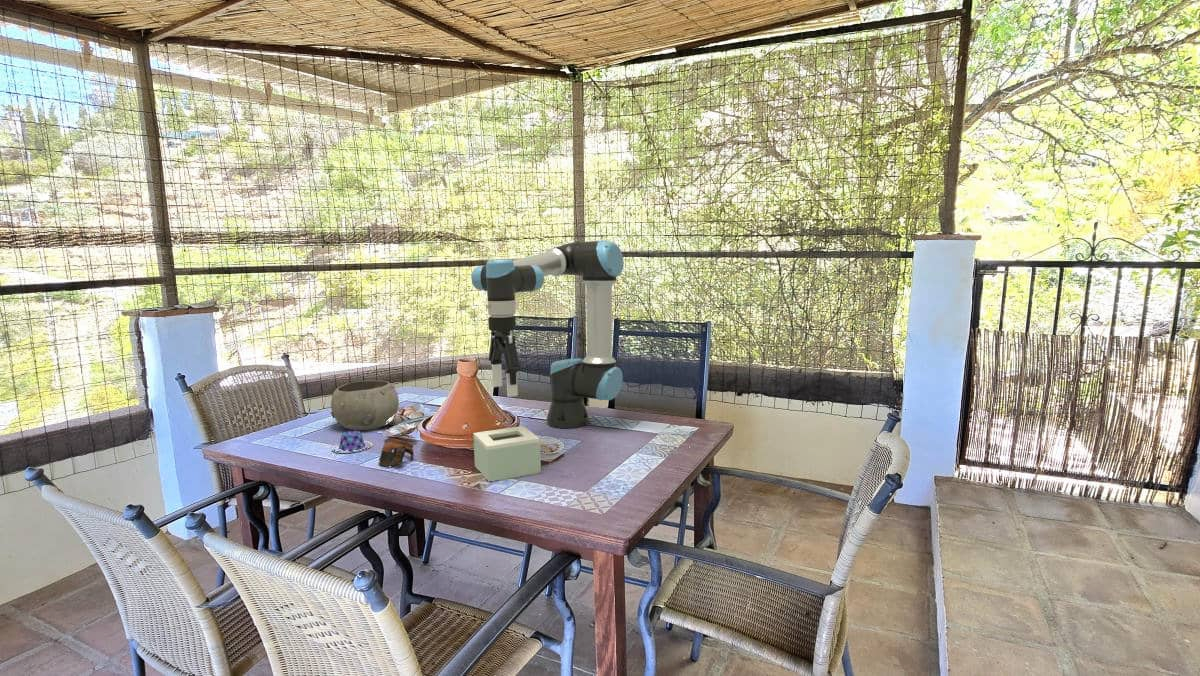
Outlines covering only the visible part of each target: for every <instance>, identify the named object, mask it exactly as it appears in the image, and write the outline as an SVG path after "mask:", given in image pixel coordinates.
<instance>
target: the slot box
mask: <svg viewBox="0 0 1200 676" xmlns="http://www.w3.org/2000/svg"><path fill="white" fill-rule="evenodd" d="M472 434H473V450H474V451H473V453H474V455H473V457H474V468H476V470H477V471H478V470H479V471H480V472H481V473H480V472H479V471H478V472H479V473H480V474H481V475H482V476H483V478H484V477H485V478H486V479H487V480H488V481H487V480H486V479H485V478H484V479H485V480H486V481H487V483H490V482H489V481H493V482H496V481H495V480H499V481H503V480H502V479H504V480H509V479H508V478H510V479H515V478H519V477H520V476H521V477H525V476H530V475H536V474H537V475H538V474H541V473H542V471H541V470H542V467H541V466H542V465H541V438H540V437H539V436H537V435H536V434H534V433H533V432H532V431H530V430H529V429H528V428H527V427H525V426H524V425H520V426H513V427H506V428H499V429H494V430H493V429H492V430H484V431H478V432H473V433H472ZM514 477H515V478H514Z"/></svg>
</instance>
